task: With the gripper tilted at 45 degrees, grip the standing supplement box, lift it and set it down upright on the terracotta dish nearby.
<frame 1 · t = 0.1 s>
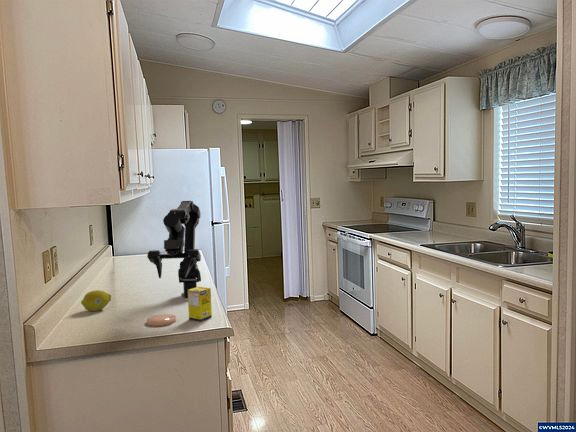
hand: (172, 277, 154), 15 cm above the worktop, tool tilted 35°, fingers open, 9 cm apart
lemon: (97, 311, 166), on the worktop
supplement box: (200, 318, 153), on the worktop
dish: (161, 321, 150), on the worktop
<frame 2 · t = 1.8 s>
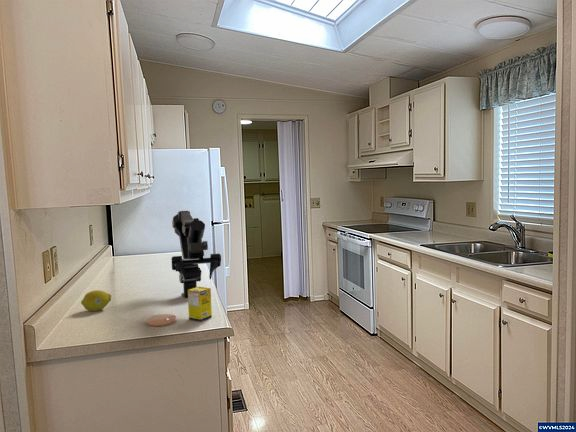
hand: (198, 279, 159), 13 cm above the worktop, tool tilted 45°, fingers open, 9 cm apart
nothing on the worktop moved.
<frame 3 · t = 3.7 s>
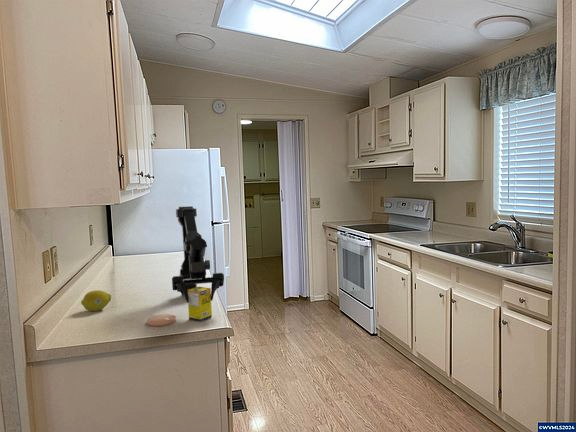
hand: (199, 301, 152), 7 cm above the worktop, tool tilted 45°, fingers closed on supplement box, 8 cm apart
supplement box: (200, 318, 153), on the worktop, touching gripper
everything else where it was.
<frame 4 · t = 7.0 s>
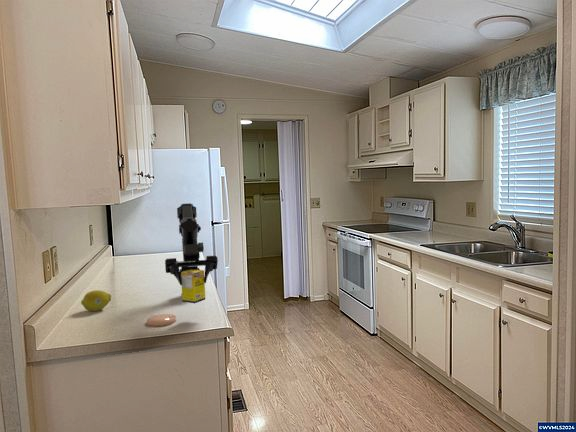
hand: (193, 283, 151), 13 cm above the worktop, tool tilted 45°, fingers closed on supplement box, 8 cm apart
supplement box: (193, 301, 153), point 6 cm above the worktop, touching gripper
everything else where it was.
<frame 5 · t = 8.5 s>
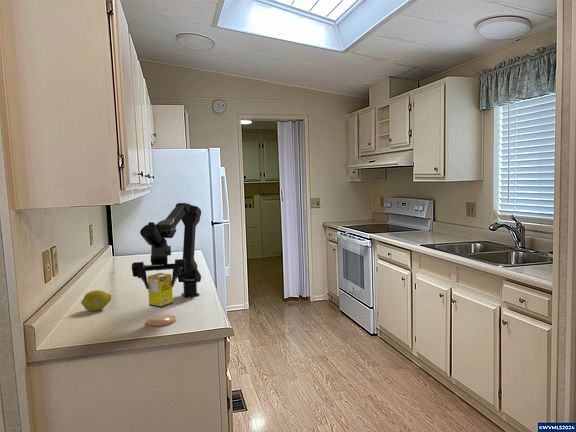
hand: (160, 287, 148), 13 cm above the worktop, tool tilted 45°, fingers closed on supplement box, 8 cm apart
supplement box: (161, 305, 150), point 6 cm above the worktop, touching gripper
everything else where it was.
when the fingers open (9 cm above the worktop, at t = 9.9 s): supplement box stays where it is, resting on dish.
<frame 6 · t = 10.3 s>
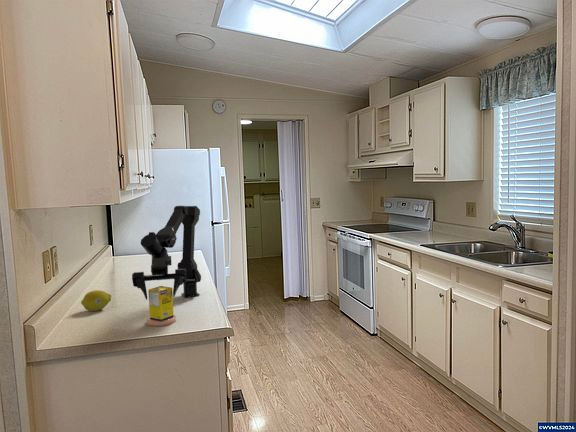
hand: (160, 297, 148), 9 cm above the worktop, tool tilted 45°, fingers open, 9 cm apart
supplement box: (161, 318, 150), point 1 cm above the worktop, touching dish
everything else where it was.
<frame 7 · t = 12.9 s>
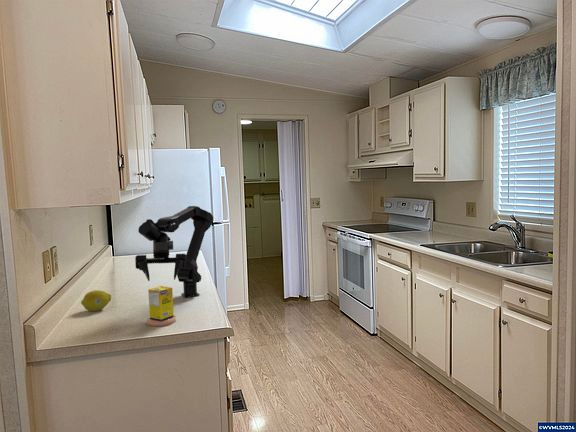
hand: (161, 279, 157), 13 cm above the worktop, tool tilted 45°, fingers open, 9 cm apart
nothing on the worktop moved.
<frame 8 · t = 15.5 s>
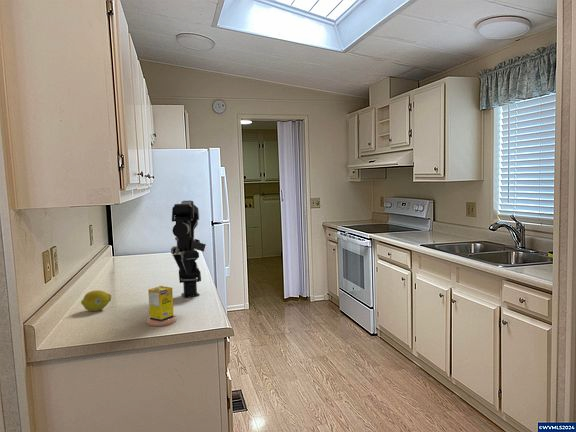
hand: (185, 273, 170), 13 cm above the worktop, tool pointing down, fingers open, 9 cm apart
nothing on the worktop moved.
at the end: supplement box inside the target area on the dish (0.2 cm from its centre), point 1.0 cm above the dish's base; supplement box tilted 0°; the gripper is holding nothing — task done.
